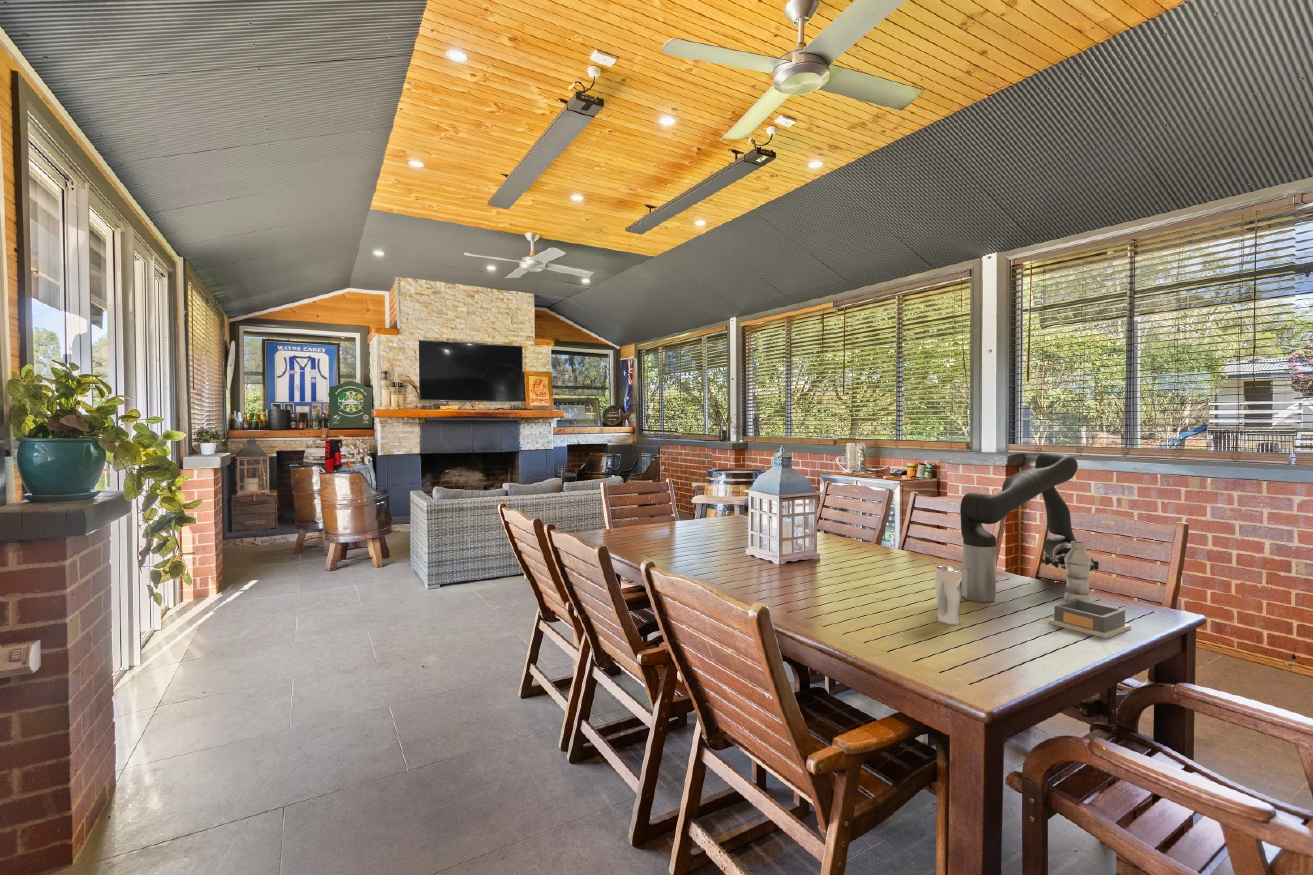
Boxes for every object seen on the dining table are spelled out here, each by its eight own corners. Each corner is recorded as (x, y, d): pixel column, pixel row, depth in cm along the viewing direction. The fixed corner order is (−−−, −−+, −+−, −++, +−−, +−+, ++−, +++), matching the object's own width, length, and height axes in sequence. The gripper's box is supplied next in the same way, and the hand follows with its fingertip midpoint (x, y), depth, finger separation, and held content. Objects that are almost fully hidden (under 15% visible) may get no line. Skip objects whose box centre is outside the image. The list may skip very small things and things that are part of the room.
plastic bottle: (1095, 612, 175) (1096, 544, 175) (1069, 611, 177) (1070, 544, 176) (1084, 606, 182) (1085, 540, 181) (1059, 604, 183) (1060, 539, 182)
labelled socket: (1107, 638, 154) (1107, 619, 154) (1048, 623, 166) (1048, 605, 166) (1130, 628, 162) (1131, 610, 162) (1073, 614, 174) (1073, 597, 173)
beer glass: (961, 619, 169) (962, 566, 169) (962, 627, 163) (963, 572, 163) (934, 616, 172) (934, 564, 172) (934, 623, 166) (934, 569, 165)
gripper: (1041, 542, 204) (1046, 551, 190) (1093, 547, 197) (1101, 556, 183) (1041, 564, 204) (1046, 575, 190) (1092, 569, 198) (1101, 580, 183)
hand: (1073, 566), depth 187 cm, fingers open, 8 cm apart
